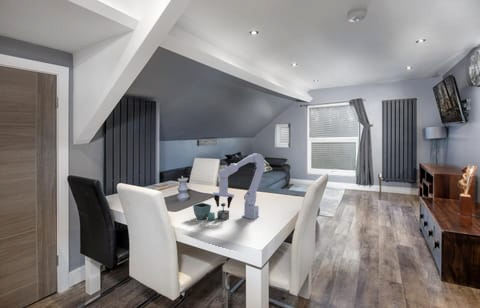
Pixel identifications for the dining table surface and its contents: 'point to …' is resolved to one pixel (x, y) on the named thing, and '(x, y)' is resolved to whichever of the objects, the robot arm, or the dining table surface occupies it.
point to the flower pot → (201, 210)
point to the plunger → (223, 206)
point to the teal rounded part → (211, 216)
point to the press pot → (223, 215)
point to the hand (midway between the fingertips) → (223, 207)
